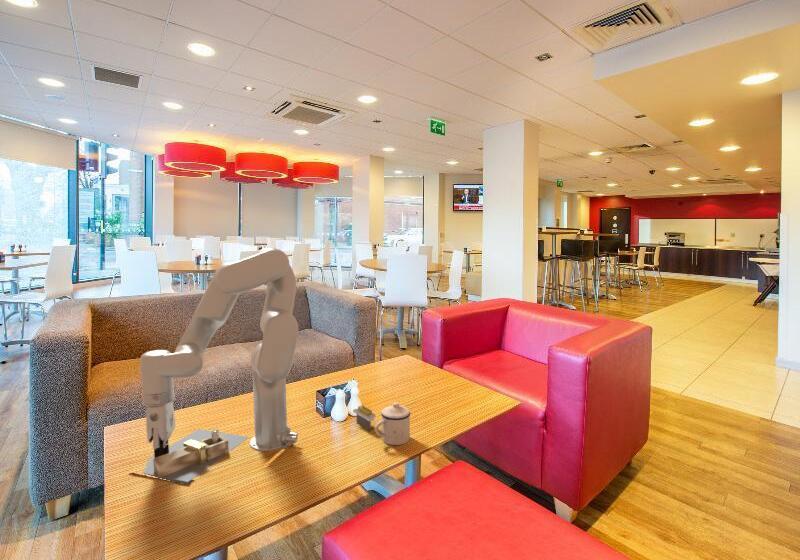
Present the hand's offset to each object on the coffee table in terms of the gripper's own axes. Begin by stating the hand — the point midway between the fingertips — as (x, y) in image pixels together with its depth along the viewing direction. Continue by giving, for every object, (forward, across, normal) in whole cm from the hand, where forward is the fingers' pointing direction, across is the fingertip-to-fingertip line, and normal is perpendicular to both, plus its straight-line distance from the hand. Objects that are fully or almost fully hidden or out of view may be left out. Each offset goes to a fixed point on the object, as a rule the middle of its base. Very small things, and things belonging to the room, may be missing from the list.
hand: (162, 460), depth 114 cm
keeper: (+1, -1, -9) cm, 9 cm away
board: (+2, +4, -7) cm, 9 cm away
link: (+1, 0, -8) cm, 8 cm away
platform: (+2, +8, -59) cm, 60 cm away
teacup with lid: (+2, -4, -65) cm, 65 cm away
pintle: (+2, +4, -13) cm, 14 cm away
